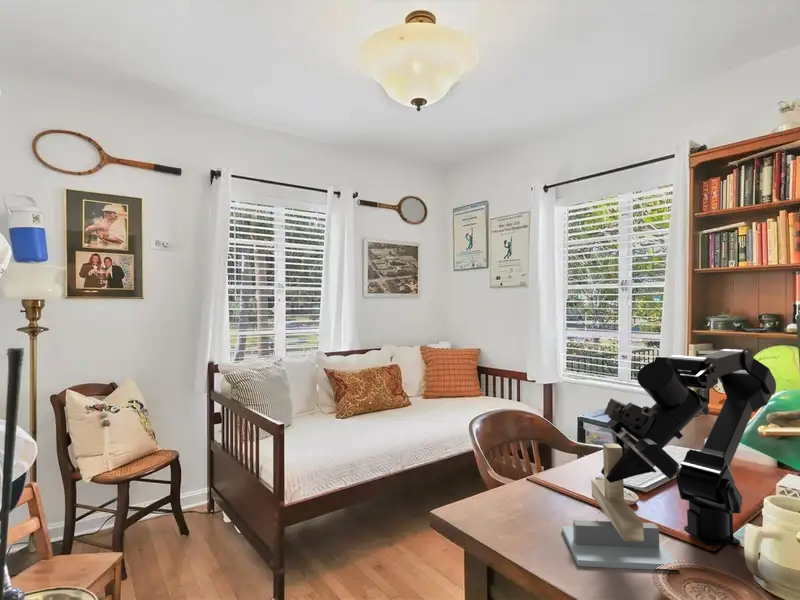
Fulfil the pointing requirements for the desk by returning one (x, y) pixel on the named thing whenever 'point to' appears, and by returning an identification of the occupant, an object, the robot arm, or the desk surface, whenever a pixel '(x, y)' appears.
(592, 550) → the stand
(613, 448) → the t bar
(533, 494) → the desk surface
